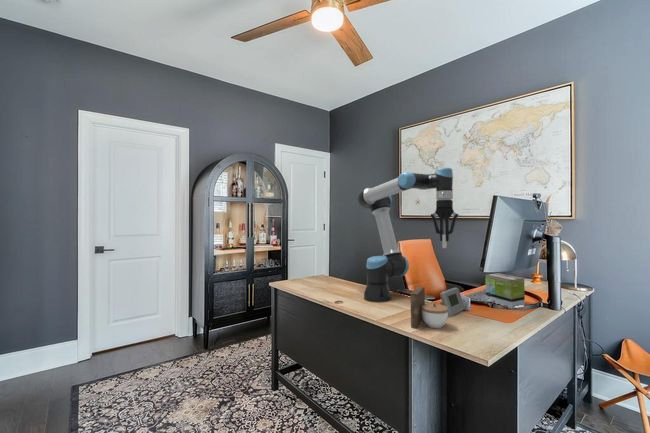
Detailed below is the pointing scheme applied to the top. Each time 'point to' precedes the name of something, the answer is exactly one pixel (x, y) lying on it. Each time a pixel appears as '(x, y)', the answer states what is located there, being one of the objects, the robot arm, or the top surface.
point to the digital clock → (452, 301)
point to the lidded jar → (434, 315)
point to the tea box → (505, 289)
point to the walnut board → (417, 306)
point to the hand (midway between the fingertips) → (444, 247)
